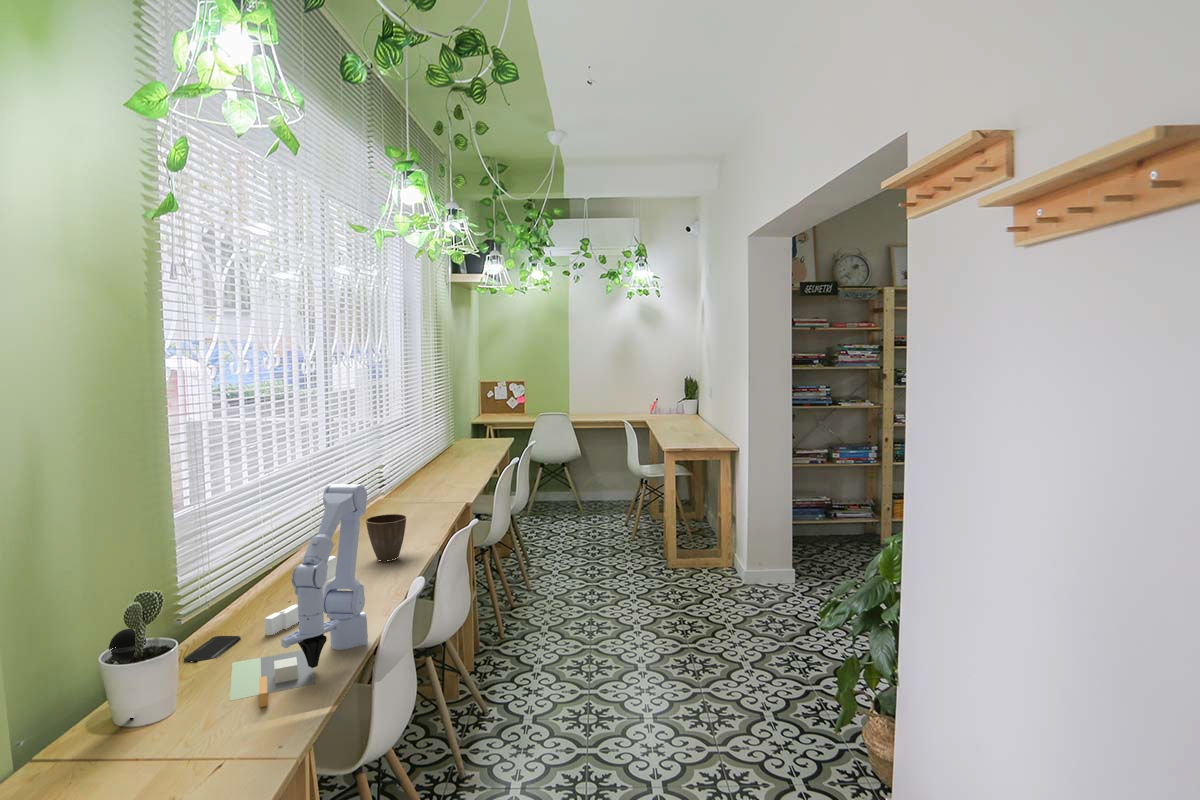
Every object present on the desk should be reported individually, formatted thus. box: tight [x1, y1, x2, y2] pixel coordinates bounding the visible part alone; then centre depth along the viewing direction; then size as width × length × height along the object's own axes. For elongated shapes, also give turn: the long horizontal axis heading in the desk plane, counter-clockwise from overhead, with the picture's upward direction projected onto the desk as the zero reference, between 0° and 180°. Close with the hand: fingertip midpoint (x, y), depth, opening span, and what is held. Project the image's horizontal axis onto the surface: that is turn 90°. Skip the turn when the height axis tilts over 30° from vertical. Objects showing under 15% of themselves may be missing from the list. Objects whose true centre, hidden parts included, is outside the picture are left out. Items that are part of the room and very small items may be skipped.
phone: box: [183, 635, 242, 663], centre depth 189 cm, size 8×1×15 cm
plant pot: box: [365, 513, 407, 561], centre depth 270 cm, size 15×15×16 cm
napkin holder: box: [263, 604, 299, 636], centre depth 204 cm, size 15×11×6 cm
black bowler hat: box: [107, 628, 147, 664], centre depth 153 cm, size 7×7×20 cm
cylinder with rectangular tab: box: [322, 555, 341, 596], centre depth 230 cm, size 9×9×12 cm
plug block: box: [274, 657, 298, 683], centre depth 170 cm, size 5×5×4 cm
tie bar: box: [258, 676, 269, 708], centre depth 159 cm, size 2×9×3 cm, turn 26°
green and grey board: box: [229, 649, 316, 702], centre depth 173 cm, size 18×22×1 cm
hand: (312, 666), depth 173 cm, fingers closed
